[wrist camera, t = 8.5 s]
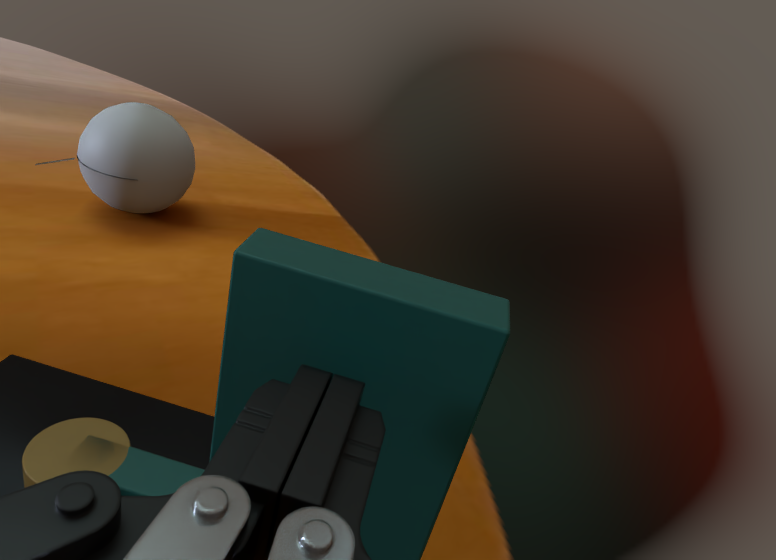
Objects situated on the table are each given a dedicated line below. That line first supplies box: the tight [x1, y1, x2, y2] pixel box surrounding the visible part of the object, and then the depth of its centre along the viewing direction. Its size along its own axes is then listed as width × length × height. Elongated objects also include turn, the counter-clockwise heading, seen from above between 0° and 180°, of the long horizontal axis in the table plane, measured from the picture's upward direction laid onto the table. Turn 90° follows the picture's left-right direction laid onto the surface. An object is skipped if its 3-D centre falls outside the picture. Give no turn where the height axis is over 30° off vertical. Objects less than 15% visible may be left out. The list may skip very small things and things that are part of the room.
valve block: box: [0, 355, 215, 496], centre depth 19 cm, size 15×9×2 cm, turn 79°
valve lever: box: [22, 228, 510, 560], centre depth 16 cm, size 12×3×10 cm, turn 79°
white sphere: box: [36, 102, 195, 213], centre depth 39 cm, size 10×7×7 cm
